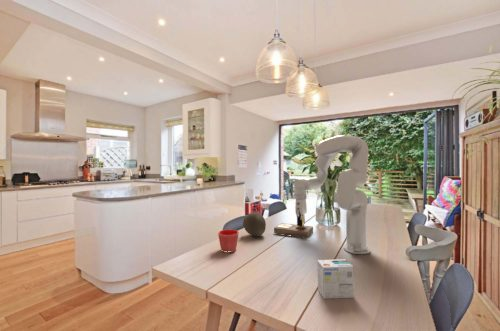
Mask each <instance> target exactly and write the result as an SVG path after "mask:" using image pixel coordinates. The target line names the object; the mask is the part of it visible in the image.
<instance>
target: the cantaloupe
mask: <svg viewBox="0 0 500 331" xmlns="http://www.w3.org/2000/svg"><path fill="white" fill-rule="evenodd" d="M242 223H243V224H242V225H243V228H244V230H245V232H246V233H248V235H250V236H251V237H252V236H253V237H260V236H262V235H263V234H264V233H265V231H266V228H267V227H266V226H267V224H266V219H265V217H264V216H263V214H261V213H259V212H250V213H248V214H246V215H245V217H244V218H243V221H242Z"/></svg>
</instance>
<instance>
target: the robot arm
mask: <svg viewBox="0 0 500 331" xmlns="http://www.w3.org/2000/svg"><path fill="white" fill-rule="evenodd" d="M315 151H316V154H317V155H318V156H317V157H316V159H315V161H314V165H315V167H316V168H317V172H316V174H315V175H314V176H313V177H295V178H294V181H293V182H294V184H293V185H294V199H295V209H294V210H295V215H296V220H297V221H296V225H297V226H302V215H304V225H305V223H306V222H305V221H306V219H305V218H306V216H305V215H306V214H307V211H308V208H307V207H308V206H307V191H311V190H318V189H320V188H321V187H322V186H323V184H324V183H325V181H326V180H327V177H328V172H329V170H328V169H329V168H330V167H331V165H332V163H333V161H334V160H335V158H336V157H337V155H338V154H339V153H342V152H343V153H344V152H345V153H351V155H350V157H349V160H348V161H349V162H348V164H349V165H348V169H347V168H346V169H344V170H342V171H341V172H340V173H339V176H337V177H338V178H337V189H336V190H337V191H336V203H337V205H338V206H339V207H340V208H341V209H342V210H344V211H346V215H345V219H346V224H345V225H346V226H345V227H346V228H345V229H346V244H344V245H343V250H344V251H345V252H348V253H350V254H356V255H366V254H367V255H368V254H370V253H371V249H370V247H368V246H367V243H368V242H367V209H368V203H369V202H368V195H367V194H366V193H365V192H364V191H363V190H361V189H358V188H360V187H363V186H364V185H365V184H366V182H367V174H368V162H369V161H368V160H369V145H368V144H367V142H366V140H364V139H362V138H360V137H359V136H354V135H345V134H339V135H336V136H333V137H329V138H327V139H324V140H321V141H320V142H318V144H317V145H316V147H315ZM299 214H301V215H299Z"/></svg>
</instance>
